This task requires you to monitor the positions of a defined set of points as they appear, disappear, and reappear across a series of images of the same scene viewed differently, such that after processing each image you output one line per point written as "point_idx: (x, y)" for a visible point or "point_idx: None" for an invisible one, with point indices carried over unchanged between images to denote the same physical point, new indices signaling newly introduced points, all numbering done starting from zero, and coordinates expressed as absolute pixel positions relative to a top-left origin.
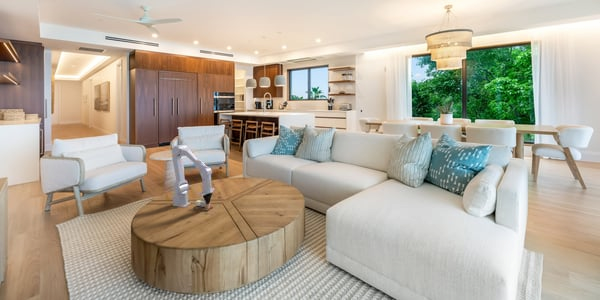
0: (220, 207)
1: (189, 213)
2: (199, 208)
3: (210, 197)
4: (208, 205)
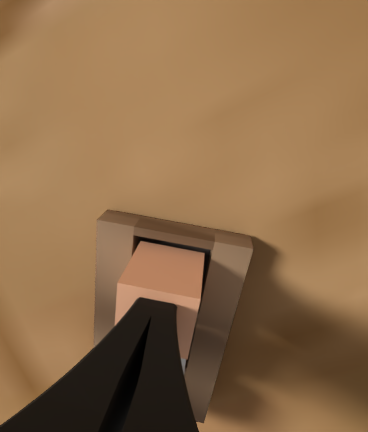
0: (45, 107)
1: (329, 399)
2: (221, 359)
3: (65, 419)
4: (194, 283)
